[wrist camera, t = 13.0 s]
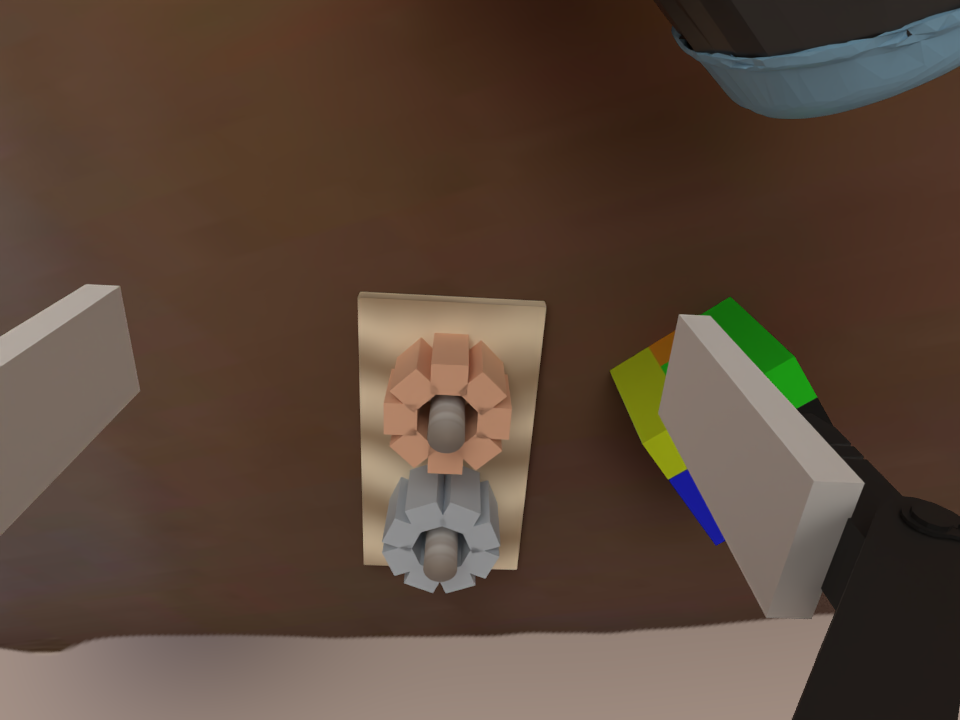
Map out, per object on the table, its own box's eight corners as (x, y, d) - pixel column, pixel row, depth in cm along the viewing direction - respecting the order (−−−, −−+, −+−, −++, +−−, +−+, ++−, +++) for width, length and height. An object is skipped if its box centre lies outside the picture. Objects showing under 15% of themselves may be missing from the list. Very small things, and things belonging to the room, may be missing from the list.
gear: (374, 480, 50) (365, 522, 46) (475, 450, 49) (476, 490, 45) (414, 557, 54) (409, 603, 49) (508, 530, 53) (512, 575, 48)
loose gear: (391, 330, 45) (383, 361, 40) (510, 336, 45) (515, 368, 41) (391, 432, 49) (383, 471, 44) (501, 437, 49) (505, 476, 44)
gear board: (360, 291, 45) (339, 338, 38) (544, 301, 45) (559, 349, 38) (365, 554, 55) (350, 632, 48) (515, 559, 56) (523, 637, 48)
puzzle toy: (672, 459, 52) (715, 545, 43) (609, 370, 48) (642, 443, 39) (787, 395, 49) (858, 472, 40) (729, 296, 46) (794, 356, 37)
